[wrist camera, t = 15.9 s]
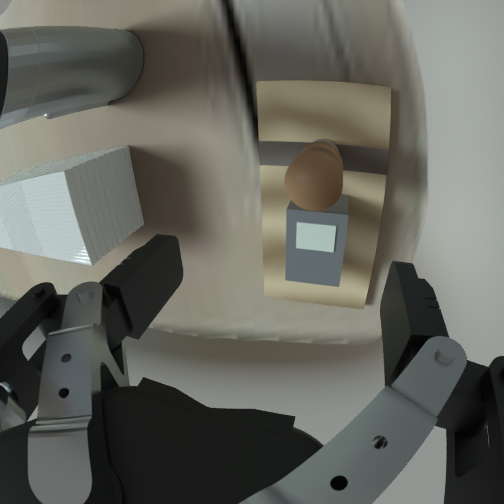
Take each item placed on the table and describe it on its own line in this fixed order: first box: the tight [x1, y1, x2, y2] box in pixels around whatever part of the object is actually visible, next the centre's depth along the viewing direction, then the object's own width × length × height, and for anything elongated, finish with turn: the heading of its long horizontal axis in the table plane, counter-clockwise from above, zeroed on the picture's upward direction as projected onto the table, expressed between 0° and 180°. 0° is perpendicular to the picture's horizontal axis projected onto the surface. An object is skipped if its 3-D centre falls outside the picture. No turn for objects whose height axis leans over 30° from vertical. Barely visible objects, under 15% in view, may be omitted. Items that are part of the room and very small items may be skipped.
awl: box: [284, 139, 343, 211], centre depth 21 cm, size 4×4×10 cm
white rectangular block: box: [0, 145, 145, 266], centre depth 34 cm, size 32×11×11 cm, turn 95°
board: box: [256, 80, 391, 309], centre depth 28 cm, size 24×12×1 cm, turn 3°
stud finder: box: [285, 194, 348, 287], centre depth 26 cm, size 7×5×5 cm
